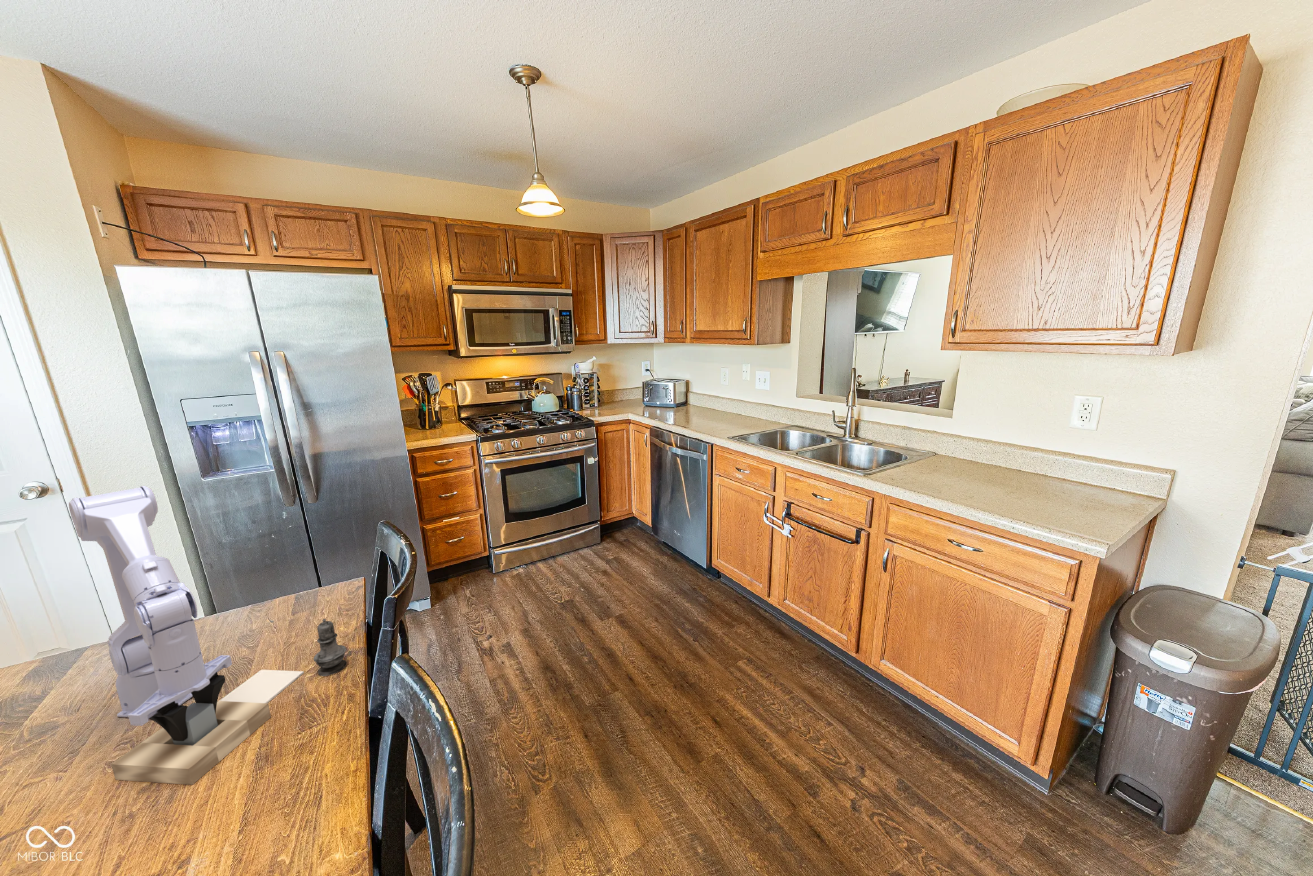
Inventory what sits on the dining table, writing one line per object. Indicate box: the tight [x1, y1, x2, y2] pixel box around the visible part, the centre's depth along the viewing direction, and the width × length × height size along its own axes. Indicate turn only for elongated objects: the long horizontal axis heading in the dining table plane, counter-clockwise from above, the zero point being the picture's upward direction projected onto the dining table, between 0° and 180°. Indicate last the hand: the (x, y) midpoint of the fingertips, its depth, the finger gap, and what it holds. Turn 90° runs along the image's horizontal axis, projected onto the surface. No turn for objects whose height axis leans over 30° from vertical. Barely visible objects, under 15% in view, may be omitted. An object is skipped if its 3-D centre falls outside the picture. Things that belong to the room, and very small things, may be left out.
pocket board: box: [110, 700, 272, 786], centre depth 82 cm, size 14×14×3 cm
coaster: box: [219, 669, 305, 704], centre depth 96 cm, size 10×10×1 cm
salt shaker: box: [313, 618, 348, 677], centre depth 101 cm, size 6×6×12 cm
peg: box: [173, 702, 218, 746], centre depth 81 cm, size 4×4×7 cm
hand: (194, 728), depth 81 cm, fingers closed on peg, 4 cm apart
